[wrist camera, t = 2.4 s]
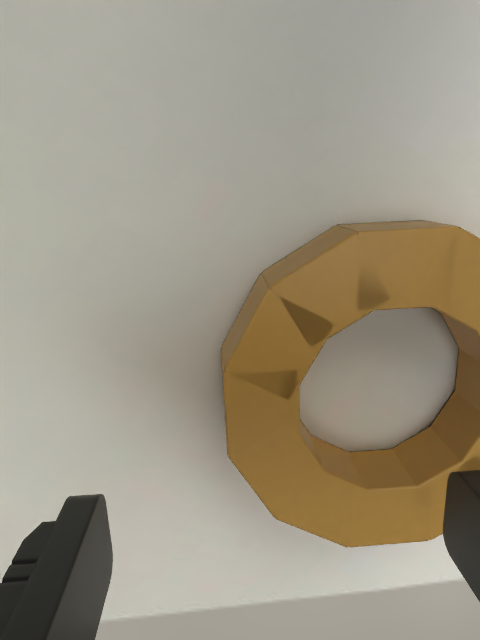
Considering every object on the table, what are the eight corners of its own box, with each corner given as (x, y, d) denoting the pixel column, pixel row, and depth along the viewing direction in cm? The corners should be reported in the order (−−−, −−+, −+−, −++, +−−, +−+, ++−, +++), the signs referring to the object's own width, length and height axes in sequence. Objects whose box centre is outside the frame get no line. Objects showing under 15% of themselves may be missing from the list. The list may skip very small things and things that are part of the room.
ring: (213, 230, 15) (214, 238, 13) (539, 214, 16) (595, 219, 13) (230, 511, 18) (233, 558, 16) (500, 490, 19) (540, 532, 17)
